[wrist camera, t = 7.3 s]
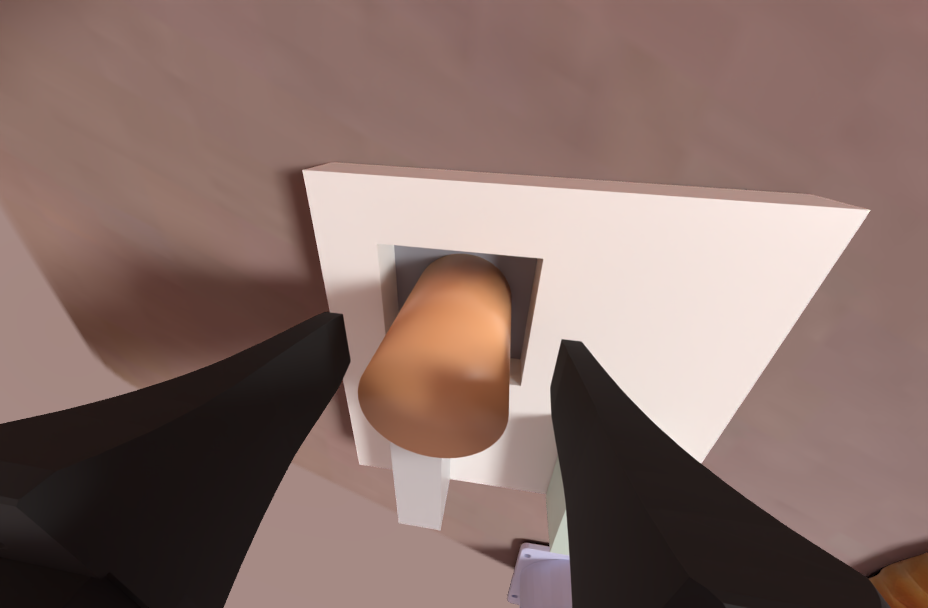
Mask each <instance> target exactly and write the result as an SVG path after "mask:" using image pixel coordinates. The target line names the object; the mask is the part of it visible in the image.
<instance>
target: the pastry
mask: <svg viewBox="0 0 928 608" xmlns="http://www.w3.org/2000/svg"><path fill="white" fill-rule="evenodd" d="M868 579H869V580H870V581H871V583H872V584H873V585H874V586H875V588H876V589H877V590H878V591H879V593H880V594H881V595H882V597H883V598H884V599H885V601H886V602H887V603H888V605H889V606H890V607H891V608H928V552H927V553H924V554H921V555H918V556H915V557H912V558H909V559H906V560H903V561H900V562H897V563H894V564H891V565H888V566H887V567H885V568H883V569H882V570H881V572H880V573H879V574H878V575H876V576H874V577H871V578H868Z"/></svg>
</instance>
